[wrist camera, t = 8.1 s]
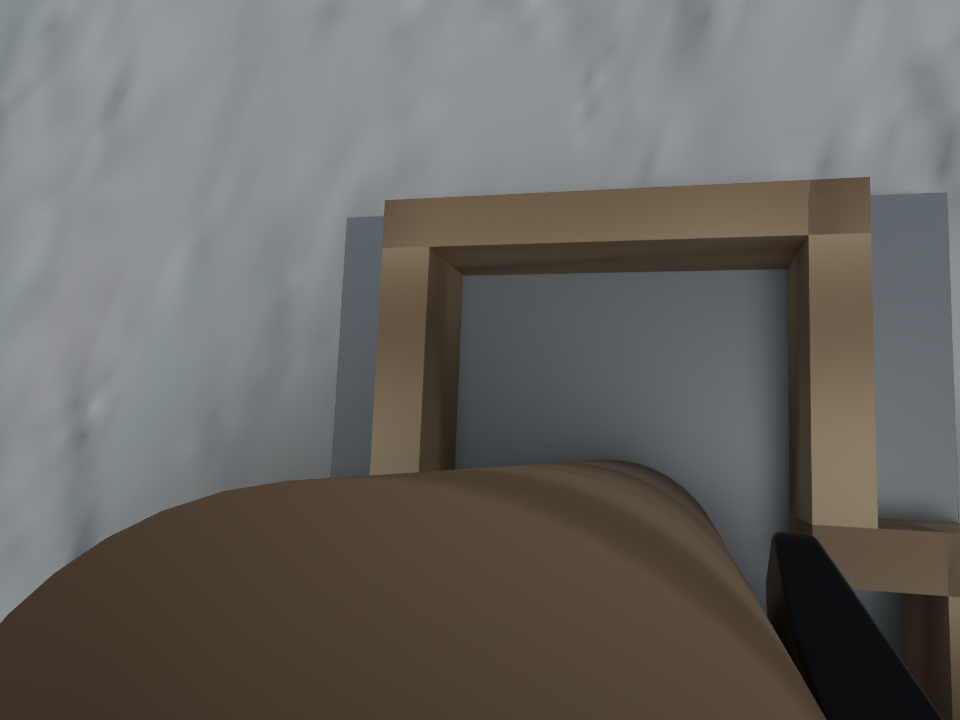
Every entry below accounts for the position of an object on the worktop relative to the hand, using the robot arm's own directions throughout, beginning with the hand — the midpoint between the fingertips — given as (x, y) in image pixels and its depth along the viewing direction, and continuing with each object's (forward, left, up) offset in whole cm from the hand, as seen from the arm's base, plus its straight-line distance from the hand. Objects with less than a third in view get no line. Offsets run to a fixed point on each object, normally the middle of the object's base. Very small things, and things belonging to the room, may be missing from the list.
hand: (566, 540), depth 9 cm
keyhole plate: (0, -1, -8) cm, 8 cm away
